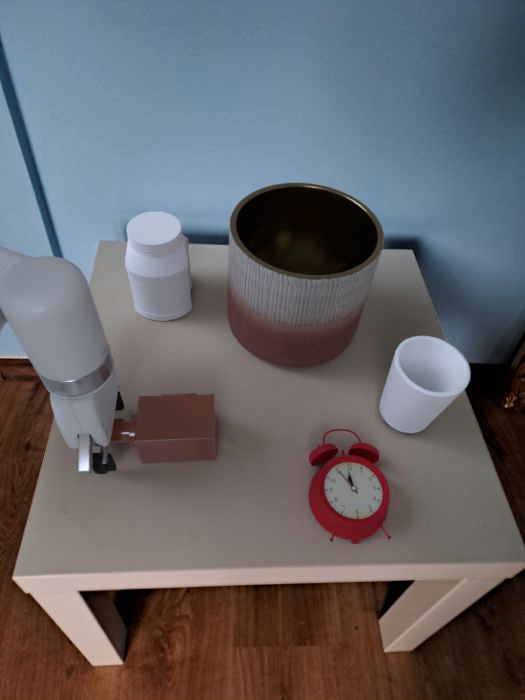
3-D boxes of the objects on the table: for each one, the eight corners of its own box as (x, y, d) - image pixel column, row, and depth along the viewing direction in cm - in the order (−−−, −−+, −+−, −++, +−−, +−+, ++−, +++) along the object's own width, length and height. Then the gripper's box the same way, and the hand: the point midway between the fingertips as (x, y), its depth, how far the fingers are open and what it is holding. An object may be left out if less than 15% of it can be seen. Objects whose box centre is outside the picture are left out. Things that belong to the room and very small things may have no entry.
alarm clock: (319, 544, 53) (308, 419, 60) (310, 546, 59) (301, 432, 65) (406, 540, 54) (385, 417, 61) (388, 542, 60) (372, 430, 66)
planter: (227, 275, 85) (228, 178, 70) (344, 278, 87) (370, 183, 71) (226, 372, 72) (227, 278, 56) (364, 373, 74) (402, 282, 58)
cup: (378, 444, 66) (406, 397, 56) (363, 387, 72) (386, 335, 62) (444, 441, 67) (483, 394, 57) (424, 385, 73) (456, 334, 63)
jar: (139, 275, 84) (125, 204, 72) (191, 274, 85) (186, 204, 73) (134, 322, 77) (118, 252, 65) (192, 320, 78) (185, 251, 66)
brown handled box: (215, 460, 63) (96, 465, 61) (215, 405, 68) (104, 408, 67) (214, 438, 58) (84, 443, 56) (214, 380, 63) (94, 383, 62)
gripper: (55, 303, 54) (90, 385, 67) (18, 437, 43) (68, 502, 57) (121, 302, 54) (142, 383, 68) (100, 434, 44) (130, 499, 57)
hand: (108, 437), depth 62 cm, fingers open, 8 cm apart
